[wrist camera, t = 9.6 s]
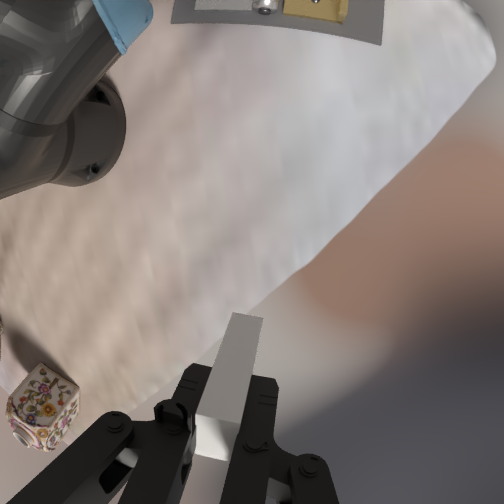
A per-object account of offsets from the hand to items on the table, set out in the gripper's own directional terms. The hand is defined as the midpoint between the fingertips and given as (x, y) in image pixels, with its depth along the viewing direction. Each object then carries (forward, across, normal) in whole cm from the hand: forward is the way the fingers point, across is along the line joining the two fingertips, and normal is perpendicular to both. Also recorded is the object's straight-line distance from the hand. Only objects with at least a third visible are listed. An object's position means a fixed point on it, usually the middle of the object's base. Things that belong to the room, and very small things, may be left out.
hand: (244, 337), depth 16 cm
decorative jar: (+25, -42, -47) cm, 68 cm away
